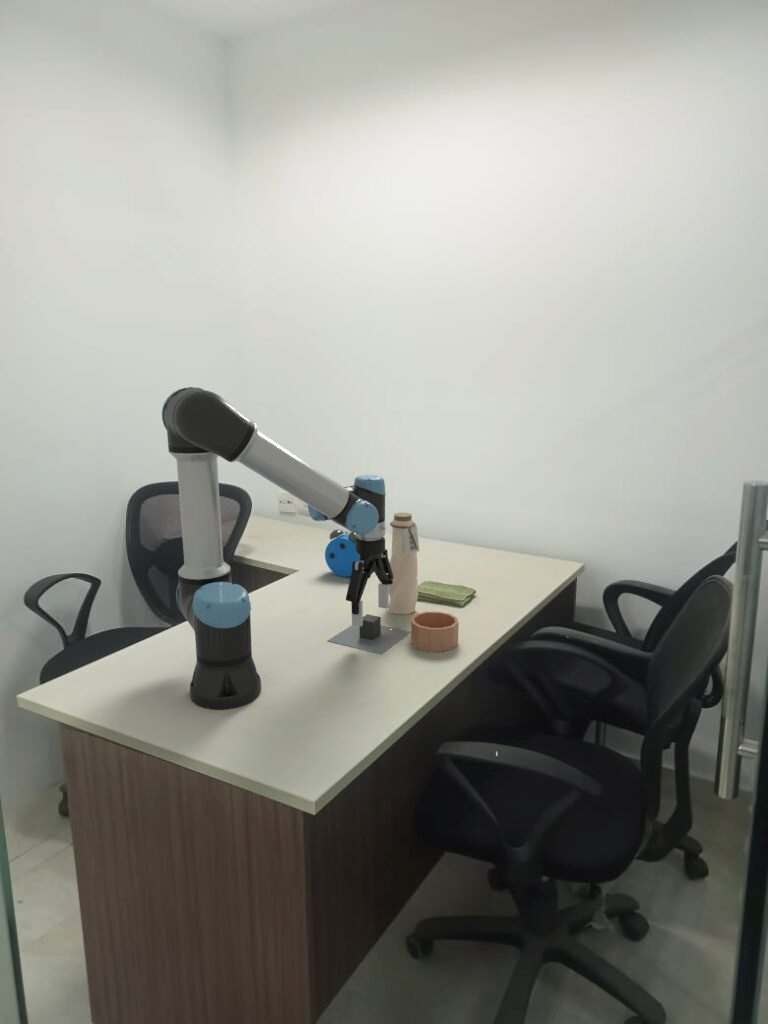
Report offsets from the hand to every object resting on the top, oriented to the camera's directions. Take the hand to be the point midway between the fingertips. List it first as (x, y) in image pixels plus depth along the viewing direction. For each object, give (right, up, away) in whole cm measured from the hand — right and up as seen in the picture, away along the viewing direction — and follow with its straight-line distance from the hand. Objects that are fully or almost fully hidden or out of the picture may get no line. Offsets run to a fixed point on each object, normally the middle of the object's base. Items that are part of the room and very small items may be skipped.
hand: (370, 616), depth 186 cm
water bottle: (+9, -1, +20) cm, 22 cm away
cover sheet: (0, -6, +1) cm, 6 cm away
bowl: (+16, -6, -2) cm, 17 cm away
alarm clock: (-9, +6, +50) cm, 52 cm away
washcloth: (+21, +1, +31) cm, 37 cm away
